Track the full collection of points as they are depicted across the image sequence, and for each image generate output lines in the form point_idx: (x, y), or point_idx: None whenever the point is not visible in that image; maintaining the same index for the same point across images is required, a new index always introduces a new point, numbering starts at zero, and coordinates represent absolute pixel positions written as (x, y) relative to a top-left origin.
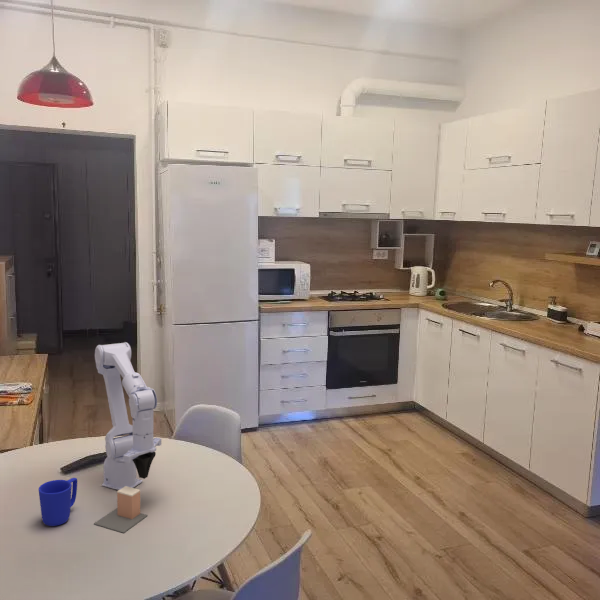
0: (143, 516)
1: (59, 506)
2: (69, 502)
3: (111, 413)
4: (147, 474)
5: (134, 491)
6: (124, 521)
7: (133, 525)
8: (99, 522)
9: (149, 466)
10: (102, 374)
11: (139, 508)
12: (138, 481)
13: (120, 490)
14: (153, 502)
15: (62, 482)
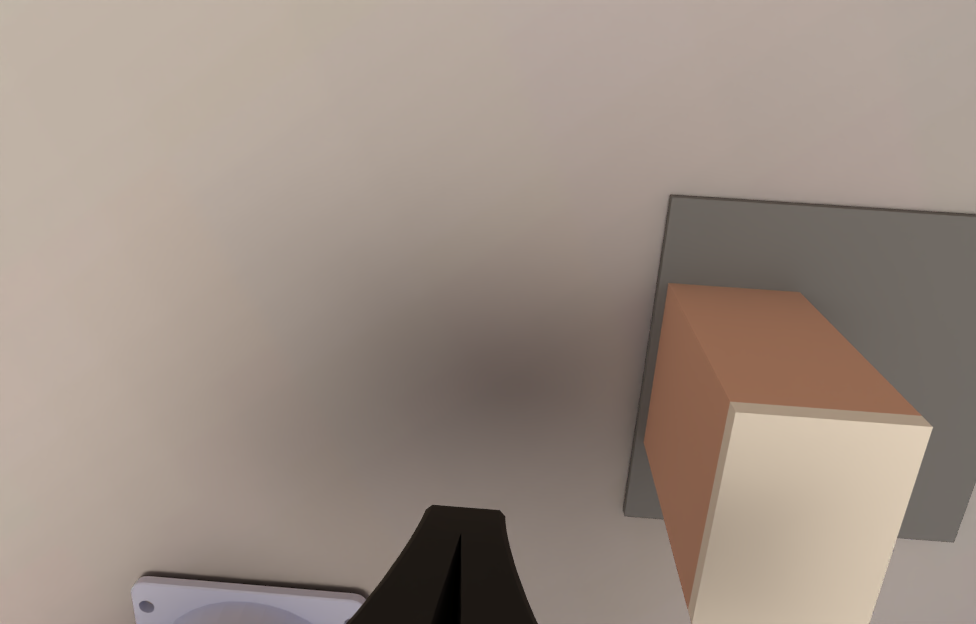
0: (715, 219)
1: None
2: None
3: None
4: (444, 528)
5: (808, 455)
6: (859, 333)
7: (908, 212)
8: (930, 511)
9: (388, 618)
10: None
11: (694, 305)
12: (169, 603)
13: (830, 618)
14: (402, 293)
15: None
